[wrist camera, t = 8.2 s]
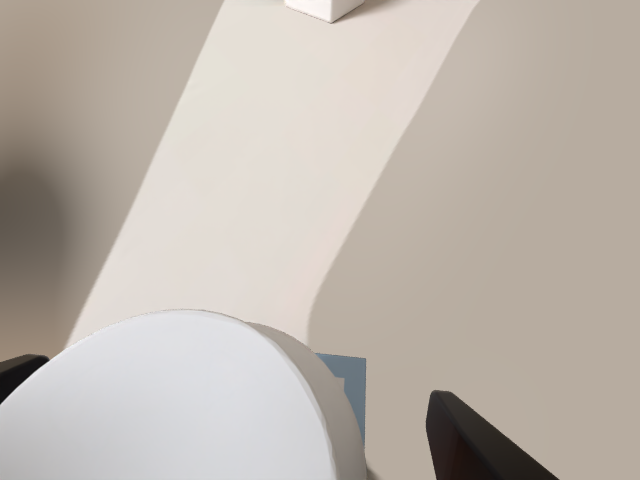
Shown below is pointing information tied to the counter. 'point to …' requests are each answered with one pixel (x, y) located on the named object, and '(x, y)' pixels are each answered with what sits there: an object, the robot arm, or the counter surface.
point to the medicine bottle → (324, 8)
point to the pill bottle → (181, 407)
